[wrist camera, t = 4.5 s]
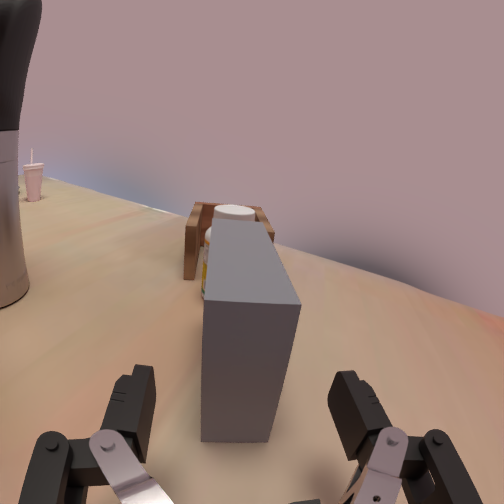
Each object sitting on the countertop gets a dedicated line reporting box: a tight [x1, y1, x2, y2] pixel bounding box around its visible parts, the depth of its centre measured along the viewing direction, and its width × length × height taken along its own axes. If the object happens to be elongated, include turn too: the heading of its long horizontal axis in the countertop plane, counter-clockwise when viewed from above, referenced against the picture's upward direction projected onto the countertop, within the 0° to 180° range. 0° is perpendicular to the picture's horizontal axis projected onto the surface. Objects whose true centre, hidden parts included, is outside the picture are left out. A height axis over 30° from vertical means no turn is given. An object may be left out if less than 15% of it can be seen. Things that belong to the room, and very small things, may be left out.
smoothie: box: [23, 149, 44, 202], centre depth 64 cm, size 6×6×14 cm
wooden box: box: [184, 202, 275, 280], centre depth 41 cm, size 13×10×6 cm
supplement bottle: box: [201, 205, 255, 298], centre depth 31 cm, size 5×5×10 cm
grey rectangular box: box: [201, 218, 301, 443], centre depth 20 cm, size 13×4×10 cm, turn 5°
